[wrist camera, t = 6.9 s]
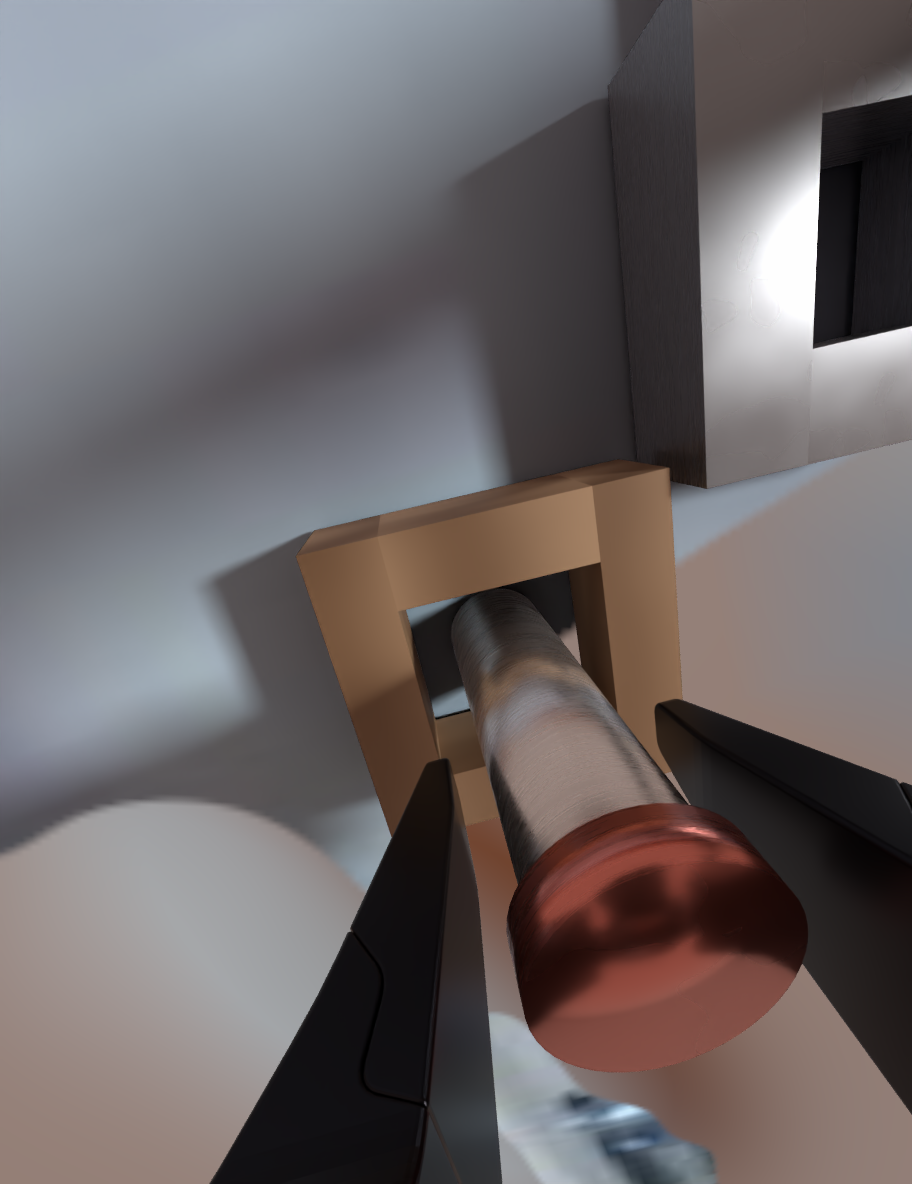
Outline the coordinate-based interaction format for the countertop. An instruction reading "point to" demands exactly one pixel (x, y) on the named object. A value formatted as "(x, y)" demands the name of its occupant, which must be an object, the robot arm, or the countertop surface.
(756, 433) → the block
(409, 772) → the frame
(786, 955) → the hitch pin
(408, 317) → the countertop surface
